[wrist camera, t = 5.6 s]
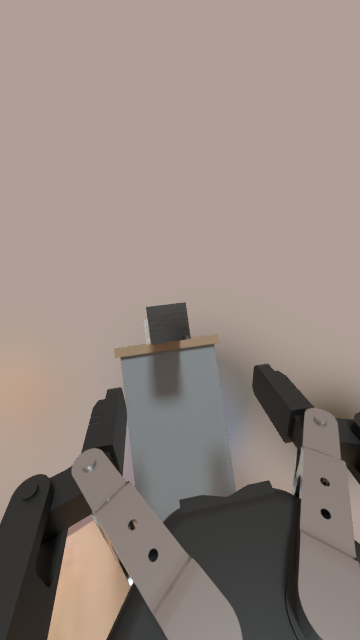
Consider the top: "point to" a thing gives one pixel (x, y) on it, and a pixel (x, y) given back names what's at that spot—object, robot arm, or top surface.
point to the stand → (176, 422)
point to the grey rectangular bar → (166, 324)
